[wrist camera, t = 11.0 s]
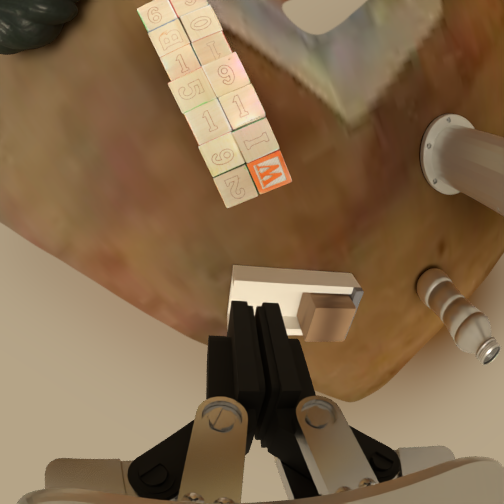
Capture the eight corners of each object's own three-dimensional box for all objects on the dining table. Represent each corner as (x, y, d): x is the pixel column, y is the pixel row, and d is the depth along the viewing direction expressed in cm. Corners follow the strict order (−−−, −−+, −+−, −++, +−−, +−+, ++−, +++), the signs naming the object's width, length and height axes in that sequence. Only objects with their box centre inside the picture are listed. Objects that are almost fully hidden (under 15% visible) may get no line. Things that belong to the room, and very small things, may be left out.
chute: (351, 273, 46) (363, 291, 41) (335, 319, 50) (344, 339, 45) (233, 264, 43) (234, 284, 39) (226, 315, 47) (227, 337, 43)
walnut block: (342, 284, 45) (356, 308, 40) (332, 316, 48) (343, 341, 43) (305, 282, 44) (315, 307, 39) (296, 315, 47) (305, 341, 42)
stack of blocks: (155, 28, 28) (126, -2, 17) (203, 6, 27) (196, -33, 16) (225, 177, 38) (226, 211, 27) (272, 158, 37) (293, 183, 26)
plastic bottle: (437, 256, 46) (509, 328, 29) (443, 282, 49) (506, 353, 31) (408, 277, 47) (474, 357, 30) (416, 301, 50) (474, 379, 33)
